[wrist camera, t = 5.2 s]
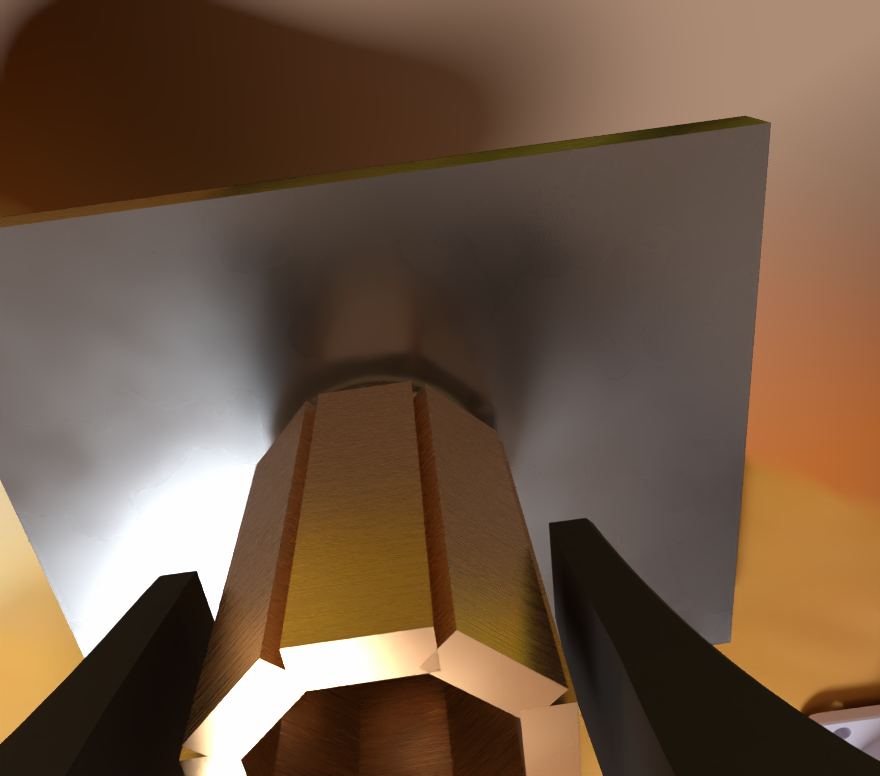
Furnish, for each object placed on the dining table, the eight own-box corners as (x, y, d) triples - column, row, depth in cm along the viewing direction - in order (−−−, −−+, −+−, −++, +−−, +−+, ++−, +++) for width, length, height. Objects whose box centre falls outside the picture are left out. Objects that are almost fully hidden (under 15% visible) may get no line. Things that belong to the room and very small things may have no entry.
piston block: (745, 115, 13) (925, 163, 9) (714, 612, 19) (815, 799, 14) (-77, 227, 13) (-315, 333, 9) (129, 691, 19) (46, 901, 14)
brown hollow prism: (495, 368, 13) (572, 606, 8) (514, 570, 16) (585, 859, 10) (233, 406, 13) (138, 669, 8) (290, 602, 16) (245, 911, 10)
